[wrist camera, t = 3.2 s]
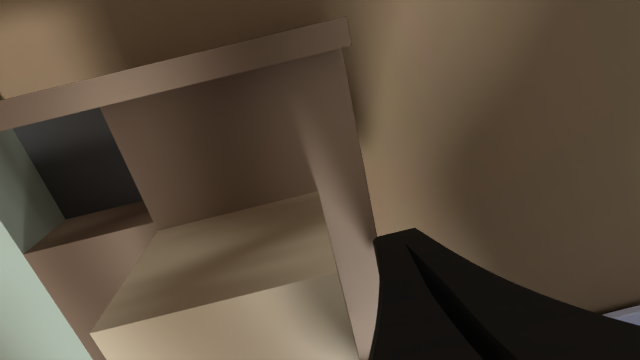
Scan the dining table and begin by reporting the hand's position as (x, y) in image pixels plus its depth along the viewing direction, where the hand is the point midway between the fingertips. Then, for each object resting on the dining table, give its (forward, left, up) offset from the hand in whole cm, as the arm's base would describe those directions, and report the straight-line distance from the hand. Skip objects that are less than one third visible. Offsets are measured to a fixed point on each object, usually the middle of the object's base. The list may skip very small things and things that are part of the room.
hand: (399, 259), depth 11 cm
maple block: (+4, 0, -1) cm, 4 cm away
